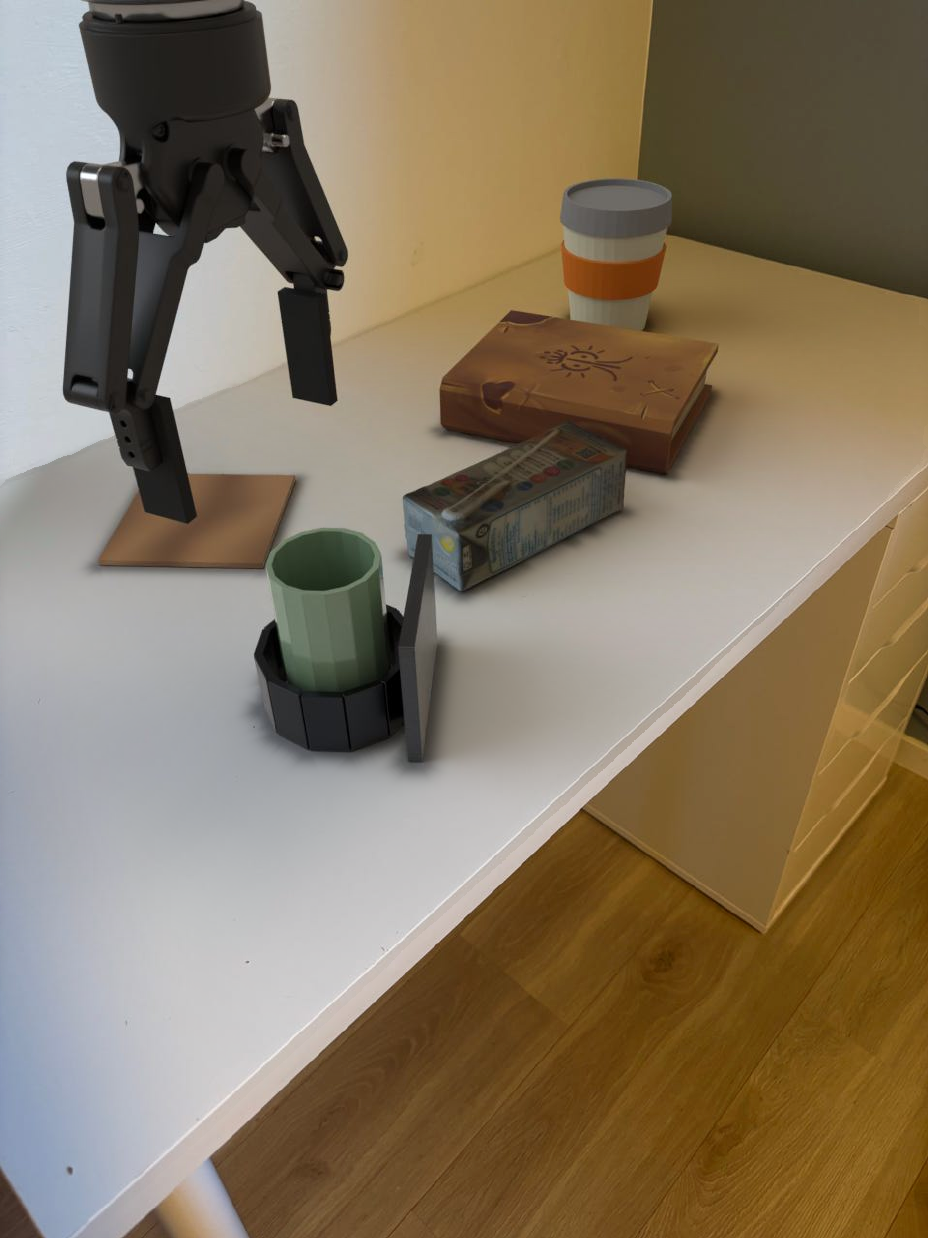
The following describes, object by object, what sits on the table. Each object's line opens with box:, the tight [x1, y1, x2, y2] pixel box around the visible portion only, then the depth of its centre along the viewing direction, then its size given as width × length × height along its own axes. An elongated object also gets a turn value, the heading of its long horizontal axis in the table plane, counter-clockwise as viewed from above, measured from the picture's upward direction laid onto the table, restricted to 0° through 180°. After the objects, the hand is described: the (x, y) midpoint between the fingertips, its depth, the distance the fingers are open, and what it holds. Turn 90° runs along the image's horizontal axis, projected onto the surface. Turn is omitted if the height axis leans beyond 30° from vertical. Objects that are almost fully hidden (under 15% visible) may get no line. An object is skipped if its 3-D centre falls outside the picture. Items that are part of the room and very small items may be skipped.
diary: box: [439, 309, 720, 475], centre depth 101 cm, size 23×19×6 cm
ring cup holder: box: [253, 534, 438, 763], centre depth 67 cm, size 12×12×10 cm
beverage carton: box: [401, 421, 627, 592], centre depth 84 cm, size 8×19×7 cm, turn 129°
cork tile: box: [97, 473, 296, 569], centre depth 88 cm, size 14×14×1 cm
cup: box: [264, 527, 392, 692], centre depth 67 cm, size 7×7×12 cm
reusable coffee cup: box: [559, 177, 673, 331], centre depth 115 cm, size 13×13×15 cm
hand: (249, 452), depth 55 cm, fingers open, 13 cm apart
